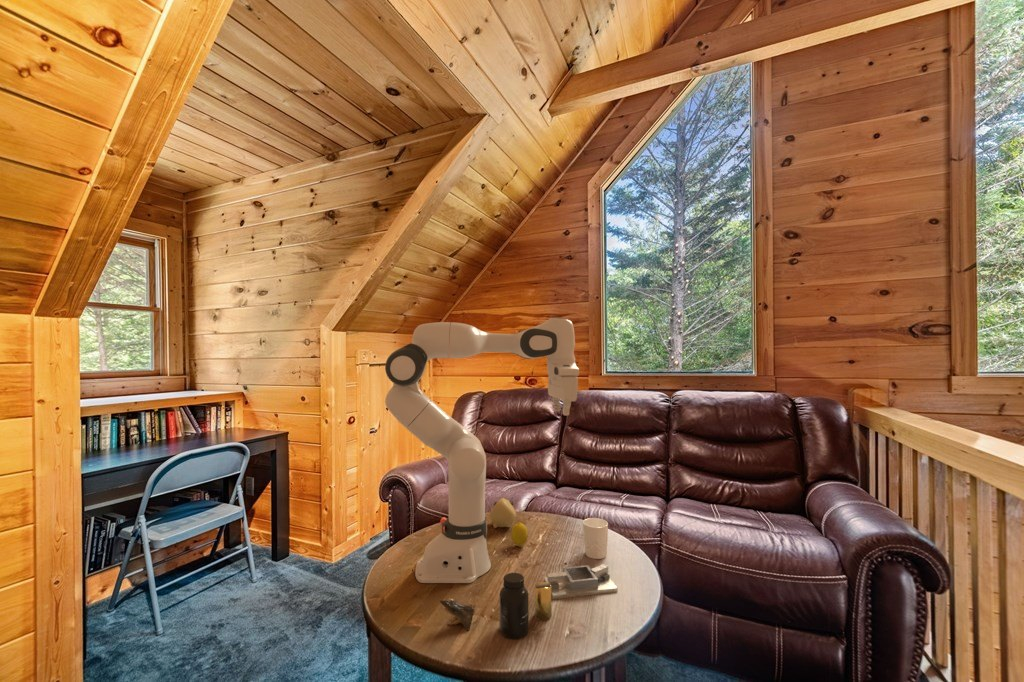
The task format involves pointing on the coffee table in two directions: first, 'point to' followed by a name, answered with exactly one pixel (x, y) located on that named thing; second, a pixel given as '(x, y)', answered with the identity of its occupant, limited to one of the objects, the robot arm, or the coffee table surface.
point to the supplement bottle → (514, 607)
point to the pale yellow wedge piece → (502, 513)
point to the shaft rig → (580, 581)
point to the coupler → (543, 601)
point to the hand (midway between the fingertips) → (561, 413)
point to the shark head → (459, 613)
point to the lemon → (519, 534)
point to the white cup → (595, 537)
